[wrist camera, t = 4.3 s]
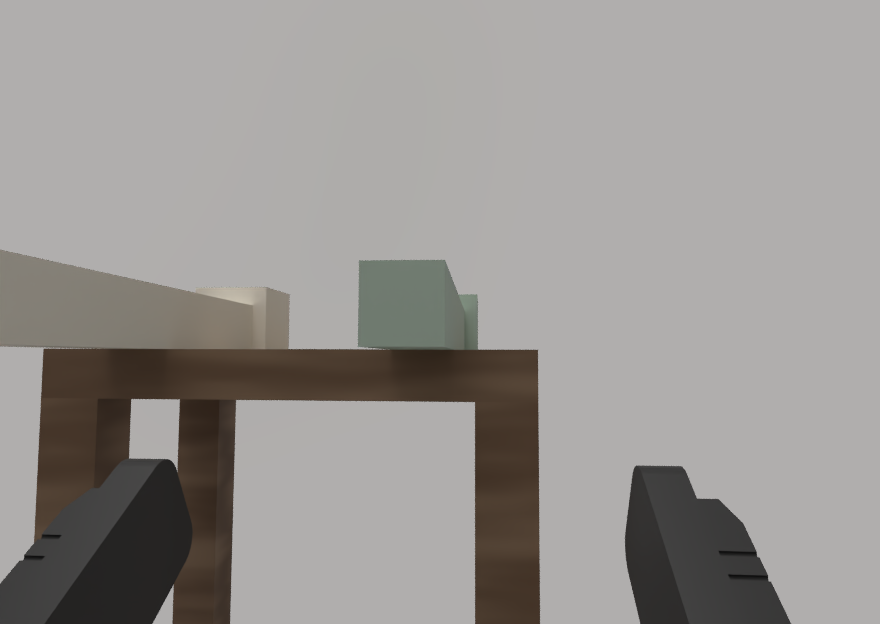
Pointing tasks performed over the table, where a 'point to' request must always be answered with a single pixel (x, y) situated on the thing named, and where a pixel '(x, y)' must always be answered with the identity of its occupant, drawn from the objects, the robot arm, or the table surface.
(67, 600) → the robot arm
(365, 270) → the sage stick
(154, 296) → the cream stick
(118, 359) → the walnut stand
